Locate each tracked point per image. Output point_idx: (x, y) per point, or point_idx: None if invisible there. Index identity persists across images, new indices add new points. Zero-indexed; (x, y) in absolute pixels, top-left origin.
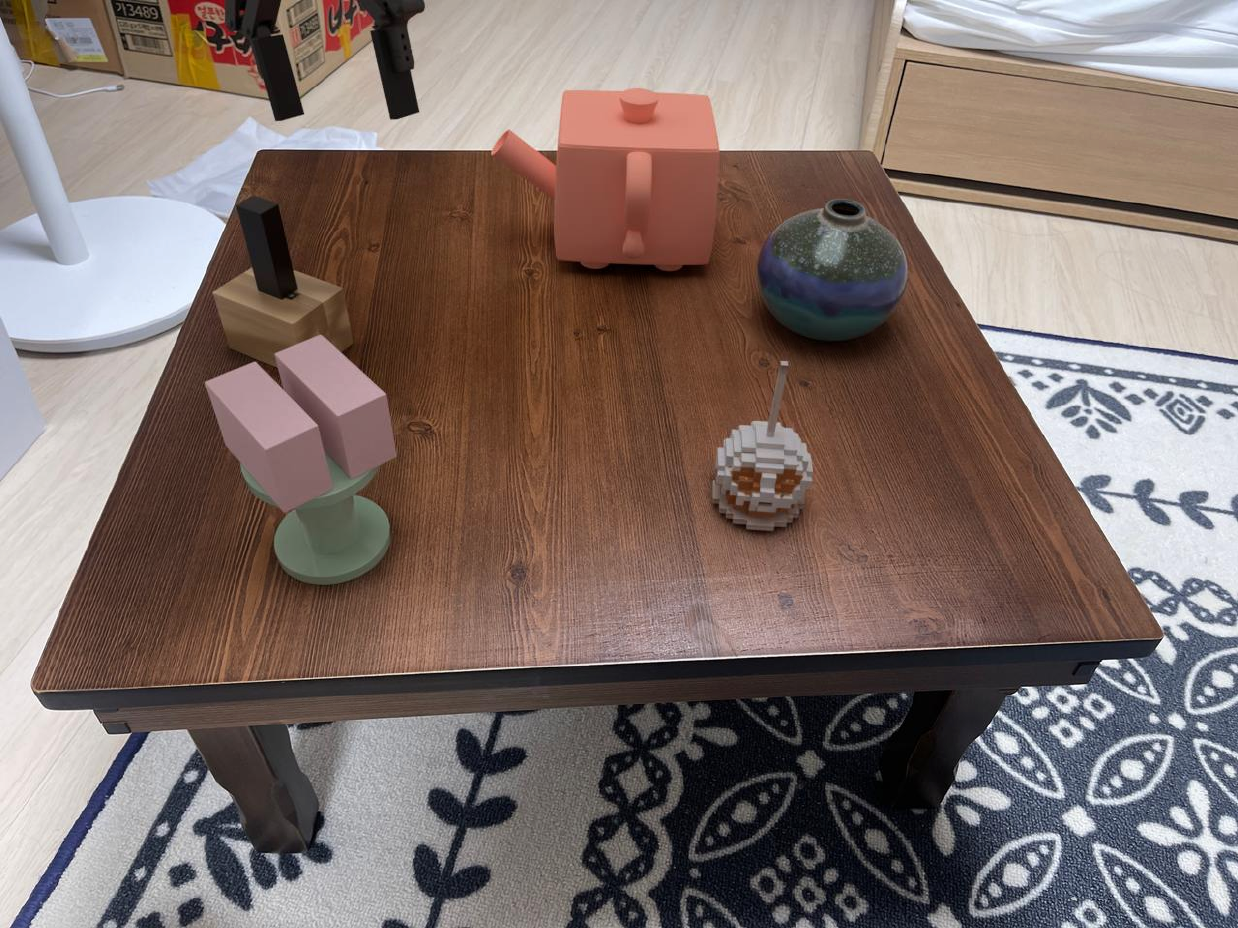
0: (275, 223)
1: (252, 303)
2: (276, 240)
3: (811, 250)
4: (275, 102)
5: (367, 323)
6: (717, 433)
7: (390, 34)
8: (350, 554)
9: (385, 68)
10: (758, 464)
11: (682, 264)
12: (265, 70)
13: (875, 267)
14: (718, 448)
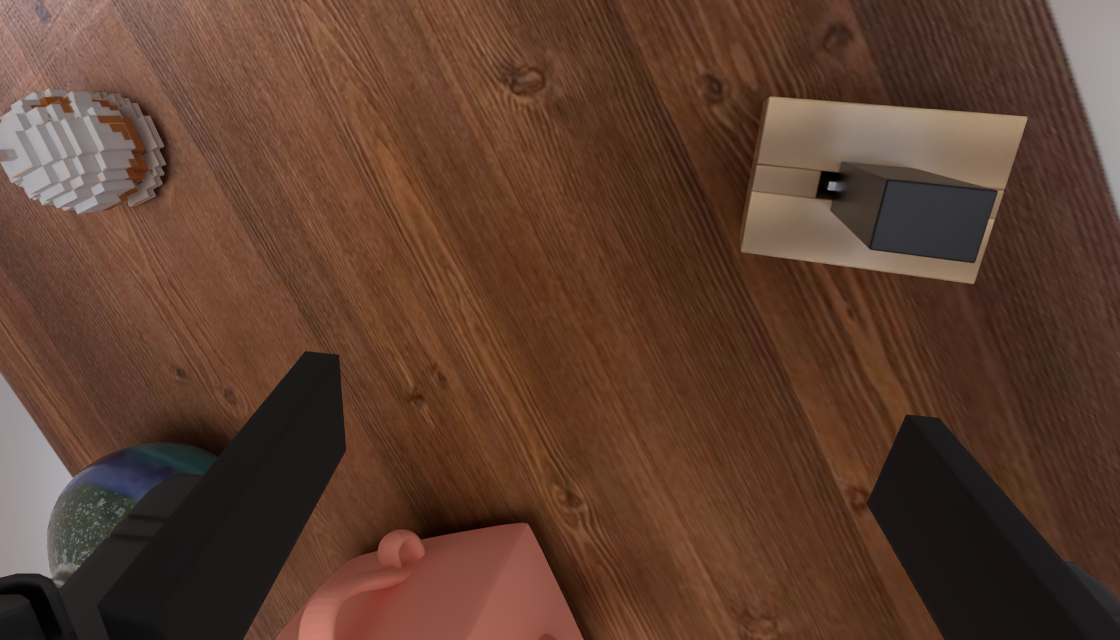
0: (866, 216)
1: (900, 120)
2: (860, 201)
3: (106, 527)
4: (944, 459)
5: (748, 290)
6: (211, 247)
7: (84, 606)
8: None
9: (214, 465)
10: (21, 110)
11: (372, 552)
12: (1033, 563)
13: (51, 517)
14: (103, 147)
